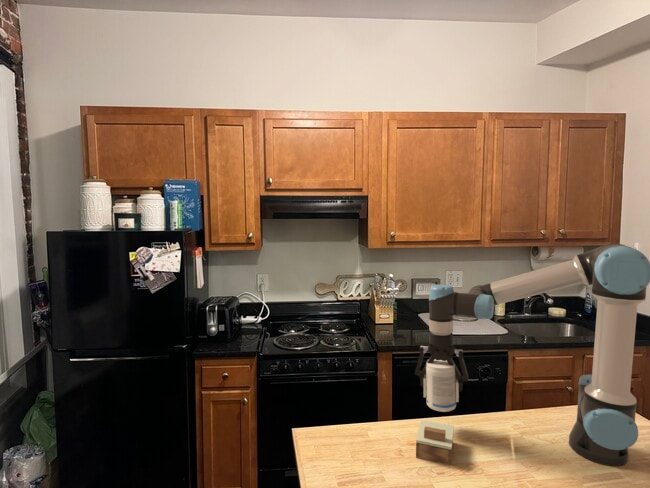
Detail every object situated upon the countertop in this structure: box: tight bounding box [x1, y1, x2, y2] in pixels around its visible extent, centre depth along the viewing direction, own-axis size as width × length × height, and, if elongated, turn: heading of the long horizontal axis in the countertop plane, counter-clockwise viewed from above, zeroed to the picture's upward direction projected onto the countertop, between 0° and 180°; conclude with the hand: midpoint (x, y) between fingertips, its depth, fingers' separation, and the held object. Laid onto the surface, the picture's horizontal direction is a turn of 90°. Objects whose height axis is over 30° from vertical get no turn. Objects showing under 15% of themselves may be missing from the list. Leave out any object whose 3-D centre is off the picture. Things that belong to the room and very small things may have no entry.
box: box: [415, 430, 454, 466], centre depth 120 cm, size 10×12×5 cm
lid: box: [415, 419, 454, 451], centre depth 120 cm, size 10×12×3 cm
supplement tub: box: [425, 359, 457, 413], centre depth 130 cm, size 10×10×15 cm
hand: (441, 397), depth 130 cm, fingers closed on supplement tub, 10 cm apart
